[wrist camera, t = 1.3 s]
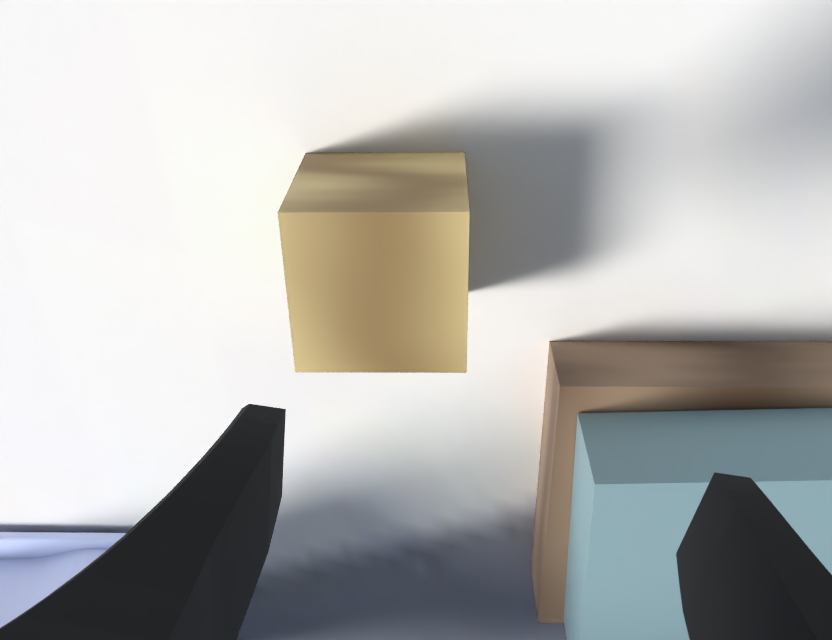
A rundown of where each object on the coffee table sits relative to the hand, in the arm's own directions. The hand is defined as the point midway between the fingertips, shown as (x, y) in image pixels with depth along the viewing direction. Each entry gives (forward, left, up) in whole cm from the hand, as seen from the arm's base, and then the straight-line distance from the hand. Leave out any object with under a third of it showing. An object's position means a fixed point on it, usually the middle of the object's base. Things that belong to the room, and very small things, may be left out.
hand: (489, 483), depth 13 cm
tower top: (+8, -9, -8) cm, 15 cm away
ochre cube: (-2, 0, -11) cm, 11 cm away
